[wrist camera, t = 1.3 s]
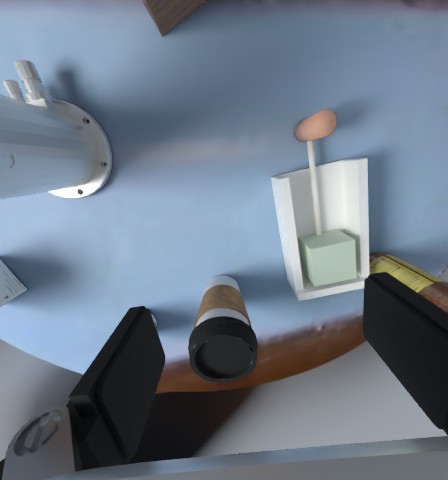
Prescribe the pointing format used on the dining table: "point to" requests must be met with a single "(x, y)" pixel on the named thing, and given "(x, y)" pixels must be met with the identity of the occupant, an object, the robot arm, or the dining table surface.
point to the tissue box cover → (170, 12)
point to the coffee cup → (222, 334)
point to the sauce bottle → (411, 278)
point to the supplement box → (9, 285)
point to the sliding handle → (322, 243)
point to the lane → (323, 219)
